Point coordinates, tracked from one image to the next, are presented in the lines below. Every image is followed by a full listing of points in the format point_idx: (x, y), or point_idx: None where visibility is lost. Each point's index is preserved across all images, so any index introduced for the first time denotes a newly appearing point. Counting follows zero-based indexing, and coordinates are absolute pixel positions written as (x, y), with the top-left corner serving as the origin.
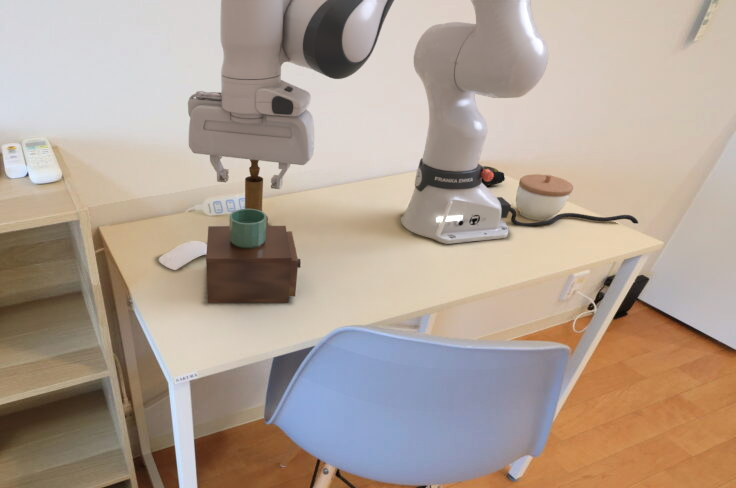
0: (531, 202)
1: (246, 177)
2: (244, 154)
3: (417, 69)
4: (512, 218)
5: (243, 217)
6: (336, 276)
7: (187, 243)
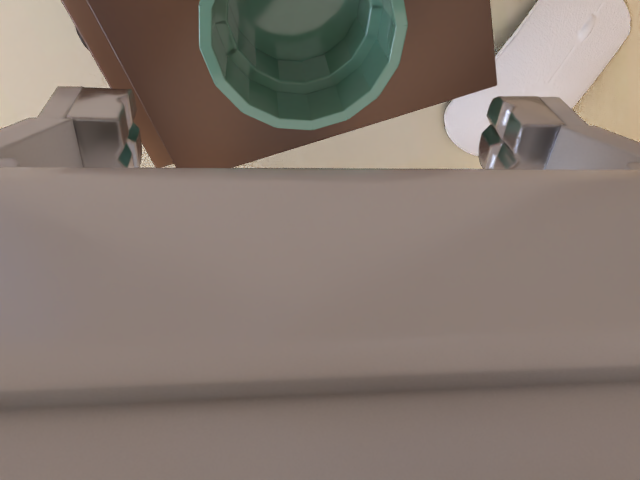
0: None
1: None
2: (386, 184)
3: None
4: None
5: (342, 88)
6: (5, 97)
7: None
